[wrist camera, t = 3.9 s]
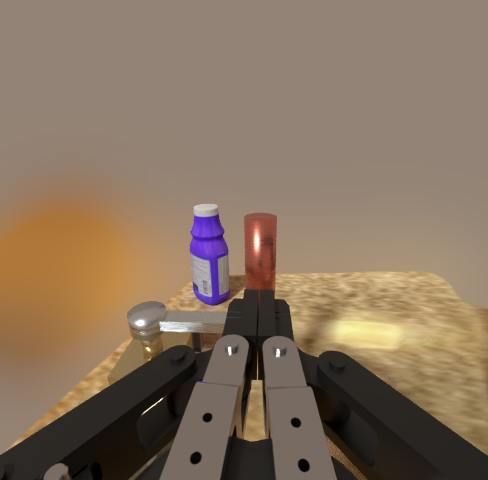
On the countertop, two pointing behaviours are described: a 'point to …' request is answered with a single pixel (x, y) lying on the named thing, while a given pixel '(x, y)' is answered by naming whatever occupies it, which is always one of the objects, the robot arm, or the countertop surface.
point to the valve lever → (160, 320)
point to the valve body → (146, 351)
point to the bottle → (209, 256)
